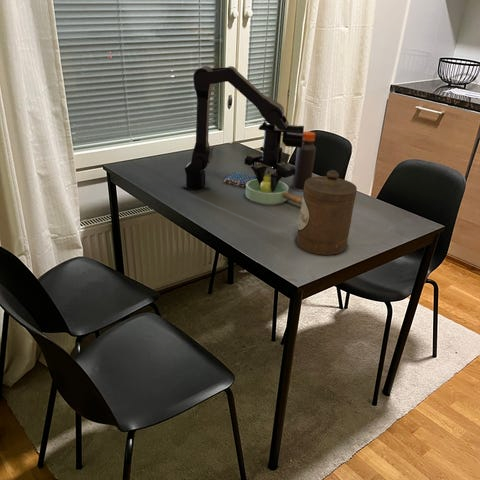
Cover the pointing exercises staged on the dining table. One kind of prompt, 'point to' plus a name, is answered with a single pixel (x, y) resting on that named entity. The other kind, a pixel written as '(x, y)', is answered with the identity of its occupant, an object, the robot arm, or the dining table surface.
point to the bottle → (304, 161)
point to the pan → (258, 196)
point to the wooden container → (326, 214)
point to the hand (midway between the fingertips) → (267, 189)
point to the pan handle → (292, 198)
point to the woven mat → (239, 179)
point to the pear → (266, 183)
